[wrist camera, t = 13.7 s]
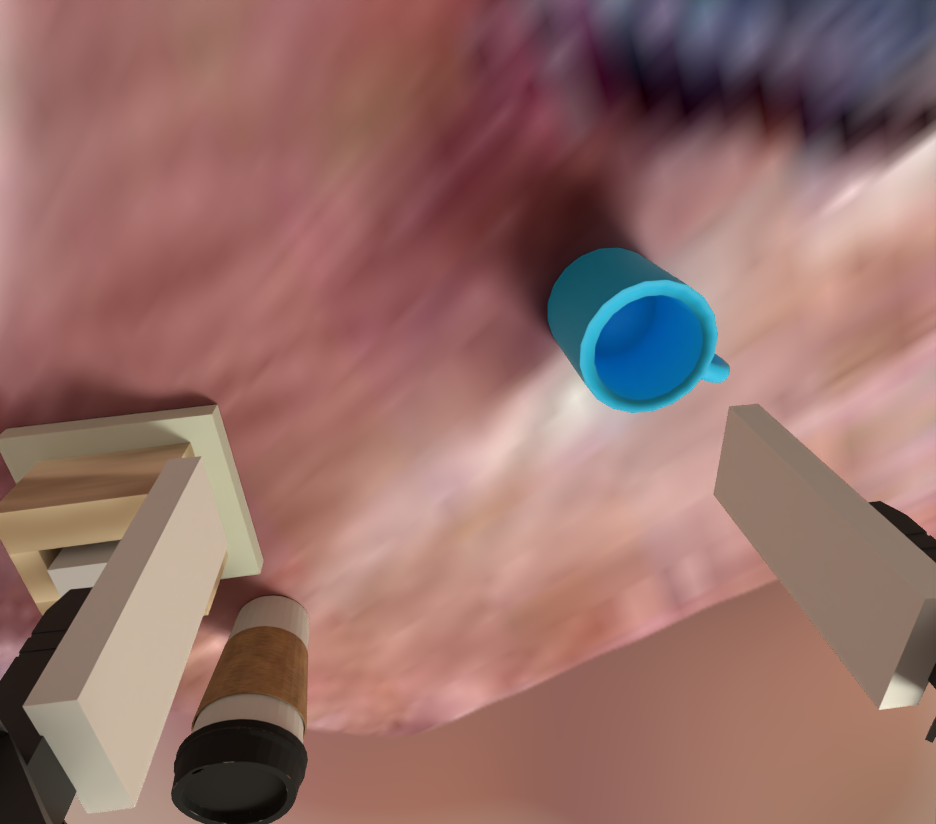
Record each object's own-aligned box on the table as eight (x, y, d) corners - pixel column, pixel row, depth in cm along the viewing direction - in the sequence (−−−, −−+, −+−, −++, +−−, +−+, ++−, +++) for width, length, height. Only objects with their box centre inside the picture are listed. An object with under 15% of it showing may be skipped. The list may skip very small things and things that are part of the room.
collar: (228, 556, 47) (207, 614, 41) (92, 574, 46) (54, 636, 41) (190, 442, 42) (161, 492, 37) (38, 461, 41) (-13, 514, 36)
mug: (526, 336, 43) (554, 385, 36) (583, 226, 40) (626, 255, 33) (666, 394, 46) (717, 449, 39) (728, 297, 43) (796, 337, 36)
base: (6, 428, 42) (-78, 501, 34) (217, 404, 43) (180, 470, 35) (81, 585, 48) (25, 675, 41) (263, 560, 49) (240, 645, 42)
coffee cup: (288, 567, 50) (251, 739, 36) (343, 632, 54) (328, 809, 40) (199, 609, 51) (132, 792, 37) (260, 670, 54) (218, 855, 41)
